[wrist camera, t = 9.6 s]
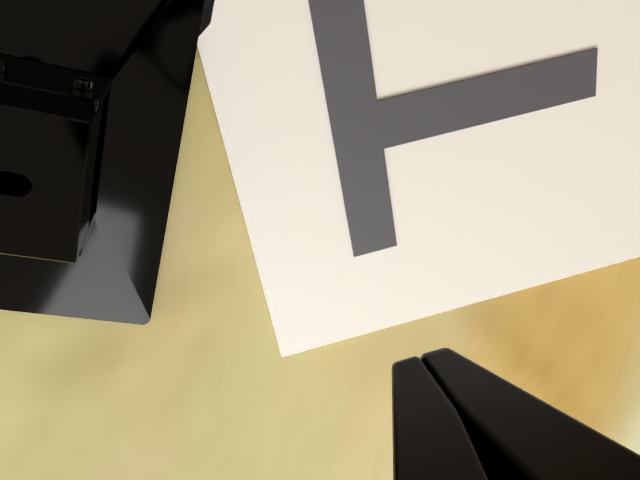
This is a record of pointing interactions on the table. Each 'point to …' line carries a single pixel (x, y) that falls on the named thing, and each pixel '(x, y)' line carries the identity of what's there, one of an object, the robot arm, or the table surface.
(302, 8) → the letter tile
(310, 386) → the table surface
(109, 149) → the black stand
